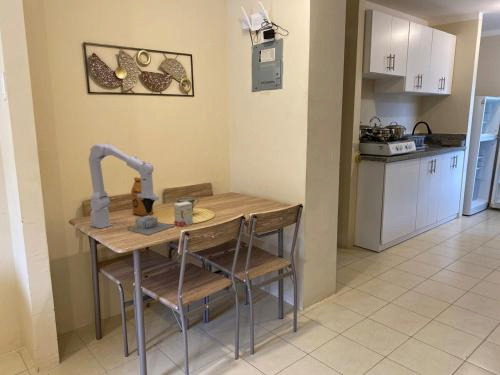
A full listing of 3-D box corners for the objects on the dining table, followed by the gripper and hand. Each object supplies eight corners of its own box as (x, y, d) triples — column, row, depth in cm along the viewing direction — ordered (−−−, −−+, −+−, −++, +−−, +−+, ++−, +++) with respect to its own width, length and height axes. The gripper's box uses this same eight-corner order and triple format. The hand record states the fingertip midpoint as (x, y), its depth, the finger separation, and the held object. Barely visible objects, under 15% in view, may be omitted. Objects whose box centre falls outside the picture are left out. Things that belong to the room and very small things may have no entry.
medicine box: (147, 215, 200) (157, 217, 195) (148, 223, 201) (158, 225, 196) (135, 218, 194) (145, 220, 189) (135, 226, 195) (145, 229, 190)
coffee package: (140, 217, 214) (137, 180, 210) (130, 213, 223) (128, 177, 219) (155, 214, 220) (153, 178, 216) (146, 210, 229) (143, 175, 225)
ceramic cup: (181, 218, 210) (180, 201, 209) (175, 214, 219) (174, 198, 217) (202, 215, 217) (201, 198, 215) (195, 211, 225) (195, 195, 223)
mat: (127, 230, 190) (127, 229, 190) (154, 222, 204) (154, 221, 204) (148, 235, 181) (148, 234, 181) (175, 226, 195) (175, 225, 195)
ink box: (179, 227, 194) (178, 205, 191) (174, 225, 197) (173, 203, 195) (193, 223, 199) (192, 202, 197) (187, 222, 203) (186, 201, 201)
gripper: (162, 187, 190) (164, 212, 192) (144, 184, 198) (145, 209, 200) (151, 189, 184) (153, 215, 187) (133, 186, 192) (135, 211, 195)
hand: (148, 212), depth 193 cm, fingers closed
